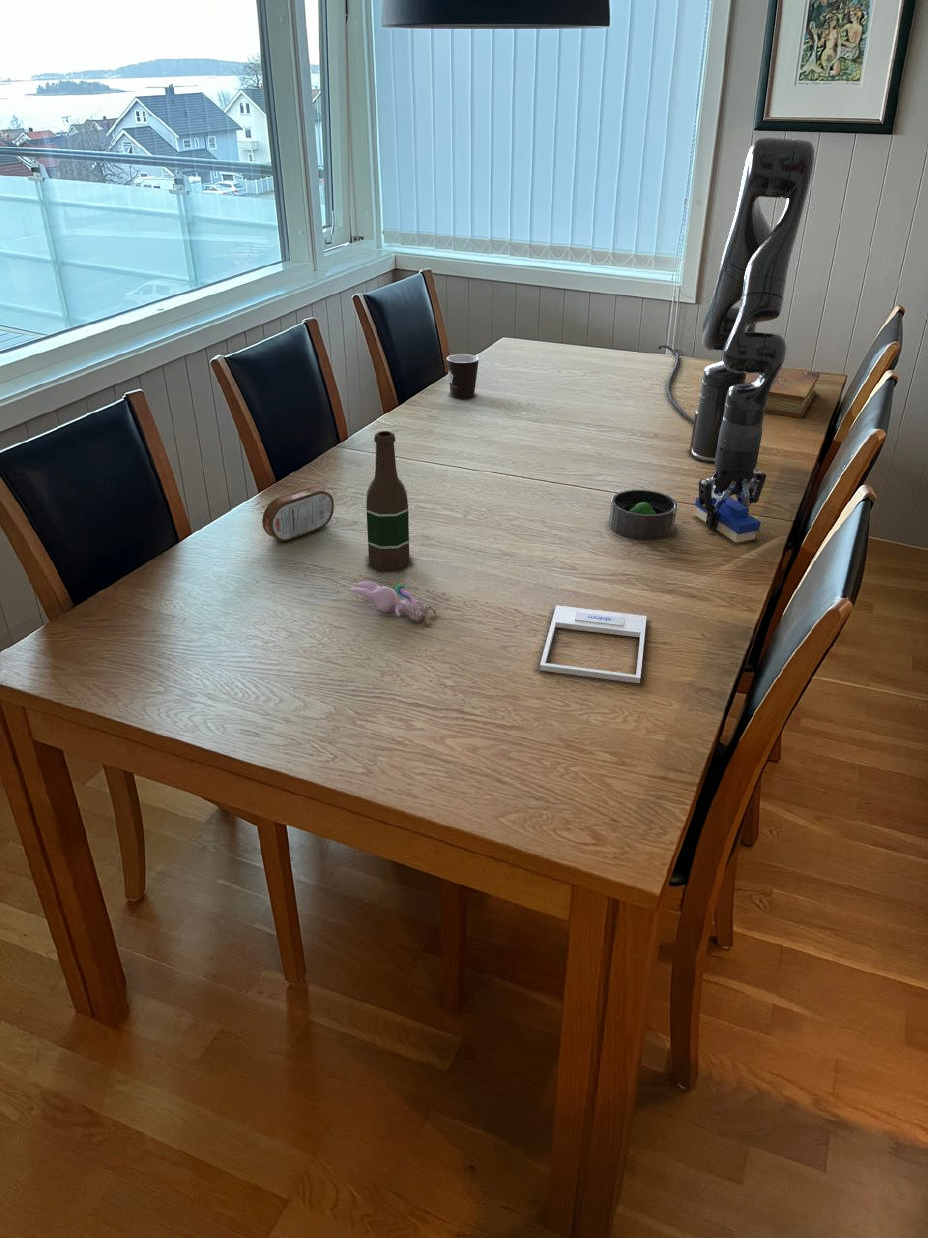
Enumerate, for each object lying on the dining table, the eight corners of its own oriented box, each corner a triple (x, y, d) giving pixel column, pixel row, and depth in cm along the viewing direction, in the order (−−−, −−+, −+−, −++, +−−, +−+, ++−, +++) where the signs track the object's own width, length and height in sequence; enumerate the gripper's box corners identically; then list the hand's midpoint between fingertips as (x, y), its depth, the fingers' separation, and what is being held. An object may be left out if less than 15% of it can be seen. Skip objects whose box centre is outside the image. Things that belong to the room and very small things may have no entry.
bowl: (597, 520, 181) (599, 494, 178) (651, 511, 185) (654, 485, 182) (630, 546, 171) (633, 519, 168) (686, 536, 175) (690, 509, 172)
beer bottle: (377, 575, 161) (371, 444, 148) (361, 557, 166) (354, 429, 154) (418, 566, 164) (415, 437, 151) (400, 548, 170) (396, 423, 157)
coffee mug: (478, 400, 246) (478, 362, 241) (446, 399, 246) (446, 362, 241) (478, 387, 256) (478, 351, 251) (447, 386, 256) (447, 350, 251)
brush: (693, 516, 183) (697, 488, 180) (713, 513, 185) (717, 485, 182) (735, 545, 172) (741, 516, 169) (756, 541, 173) (762, 512, 170)
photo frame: (646, 614, 147) (640, 677, 132) (645, 620, 148) (639, 683, 133) (556, 604, 150) (540, 663, 135) (555, 610, 150) (539, 670, 135)
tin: (328, 519, 180) (325, 479, 176) (338, 524, 178) (335, 484, 174) (263, 543, 171) (258, 501, 167) (273, 548, 169) (268, 506, 165)
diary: (747, 384, 261) (750, 364, 258) (815, 393, 254) (819, 373, 251) (728, 406, 243) (732, 385, 240) (801, 417, 236) (805, 395, 233)
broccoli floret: (622, 526, 178) (625, 503, 175) (641, 518, 181) (644, 495, 179) (644, 535, 174) (647, 512, 172) (663, 527, 178) (666, 504, 175)
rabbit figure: (439, 619, 151) (360, 587, 155) (444, 589, 147) (363, 557, 151) (421, 637, 146) (340, 603, 150) (426, 606, 142) (344, 573, 146)
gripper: (758, 431, 175) (743, 513, 183) (694, 440, 170) (682, 523, 179) (783, 444, 169) (767, 528, 177) (718, 454, 164) (704, 539, 173)
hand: (724, 525), depth 178 cm, fingers open, 5 cm apart
